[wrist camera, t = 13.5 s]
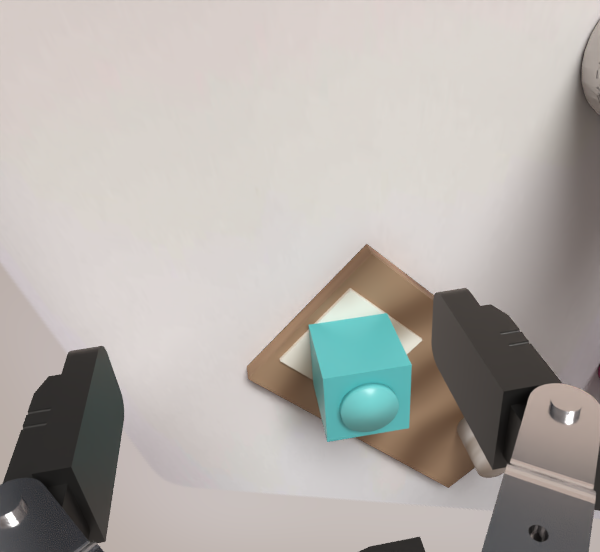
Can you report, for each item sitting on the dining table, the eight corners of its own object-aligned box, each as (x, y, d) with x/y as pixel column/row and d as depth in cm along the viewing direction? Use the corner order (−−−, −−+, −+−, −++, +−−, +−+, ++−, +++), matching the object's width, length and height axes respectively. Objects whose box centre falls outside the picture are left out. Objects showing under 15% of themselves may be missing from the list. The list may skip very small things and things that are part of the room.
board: (554, 387, 53) (591, 436, 48) (442, 475, 57) (466, 529, 52) (366, 243, 42) (389, 288, 37) (246, 366, 46) (252, 421, 41)
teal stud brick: (386, 313, 43) (414, 370, 37) (386, 373, 46) (411, 434, 41) (308, 324, 42) (324, 385, 37) (313, 384, 46) (328, 448, 40)
